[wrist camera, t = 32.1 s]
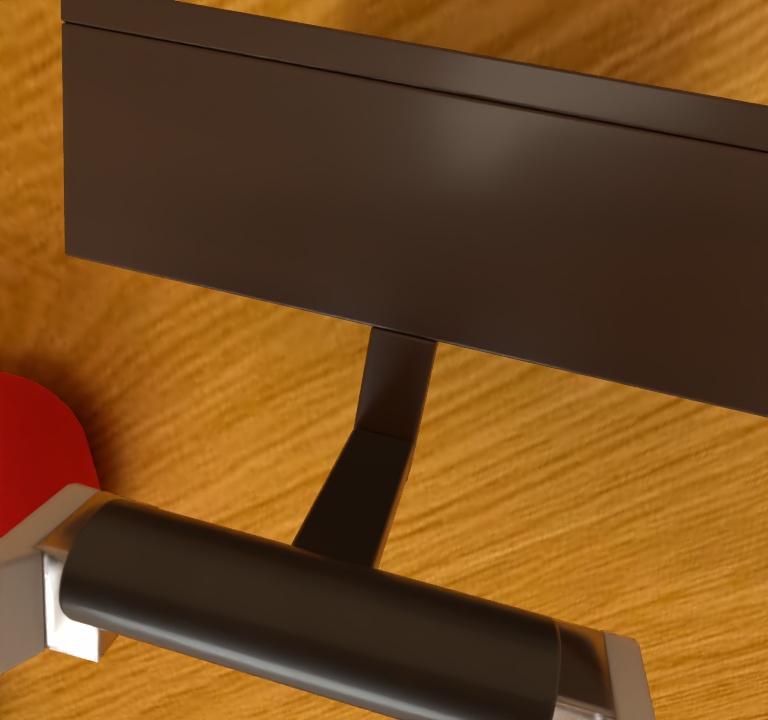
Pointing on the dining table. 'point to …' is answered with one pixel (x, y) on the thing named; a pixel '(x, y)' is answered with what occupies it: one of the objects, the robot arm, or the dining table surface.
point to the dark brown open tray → (395, 304)
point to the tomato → (37, 449)
